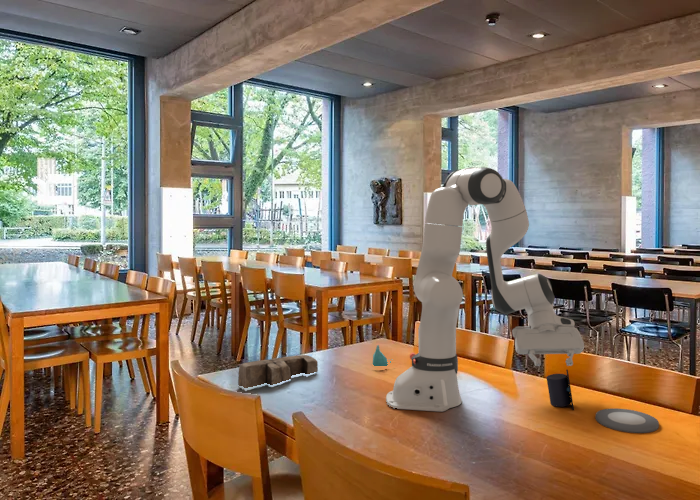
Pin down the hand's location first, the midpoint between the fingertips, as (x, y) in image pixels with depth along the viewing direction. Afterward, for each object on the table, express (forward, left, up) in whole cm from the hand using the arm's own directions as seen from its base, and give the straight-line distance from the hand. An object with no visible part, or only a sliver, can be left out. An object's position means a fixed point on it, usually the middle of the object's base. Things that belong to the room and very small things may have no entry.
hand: (554, 365), depth 167 cm
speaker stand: (+13, -19, -10) cm, 25 cm away
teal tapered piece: (-49, +39, -11) cm, 64 cm away
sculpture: (-86, +19, -11) cm, 89 cm away
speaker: (0, -6, -10) cm, 12 cm away
